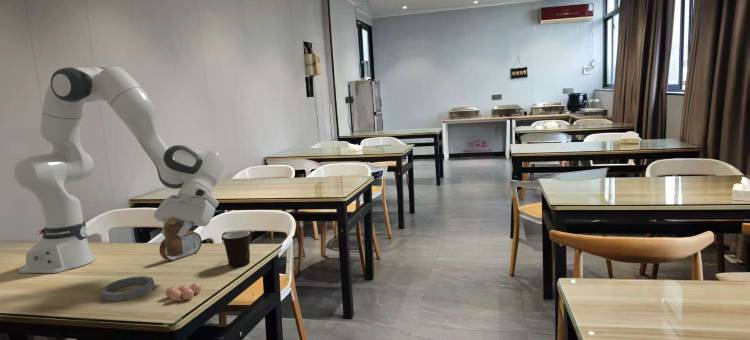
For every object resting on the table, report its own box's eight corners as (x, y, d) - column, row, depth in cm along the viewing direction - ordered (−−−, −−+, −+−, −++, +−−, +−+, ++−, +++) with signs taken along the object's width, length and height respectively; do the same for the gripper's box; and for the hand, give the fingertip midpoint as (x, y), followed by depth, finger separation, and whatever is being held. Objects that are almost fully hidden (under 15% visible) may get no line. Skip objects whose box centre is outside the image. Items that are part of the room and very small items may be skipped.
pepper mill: (164, 256, 145) (160, 219, 143) (170, 251, 150) (166, 215, 148) (180, 255, 145) (175, 218, 144) (185, 251, 150) (181, 214, 148)
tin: (199, 250, 178) (196, 227, 177) (204, 251, 176) (201, 228, 175) (160, 263, 166) (157, 239, 165) (165, 264, 164) (162, 240, 163)
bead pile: (160, 304, 131) (159, 293, 130) (171, 293, 138) (169, 282, 138) (194, 301, 131) (193, 290, 130) (203, 290, 138) (202, 280, 138)
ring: (92, 302, 135) (91, 295, 134) (116, 284, 148) (115, 278, 147) (142, 299, 135) (141, 292, 135) (161, 281, 148) (160, 274, 148)
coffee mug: (245, 269, 154) (242, 238, 153) (220, 268, 156) (217, 238, 155) (261, 256, 166) (258, 228, 164) (238, 256, 167) (234, 228, 166)
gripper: (162, 189, 155) (139, 227, 148) (211, 192, 146) (189, 232, 139) (175, 200, 160) (153, 237, 153) (223, 203, 151) (202, 243, 144)
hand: (171, 235), depth 146 cm, fingers closed on pepper mill, 5 cm apart
